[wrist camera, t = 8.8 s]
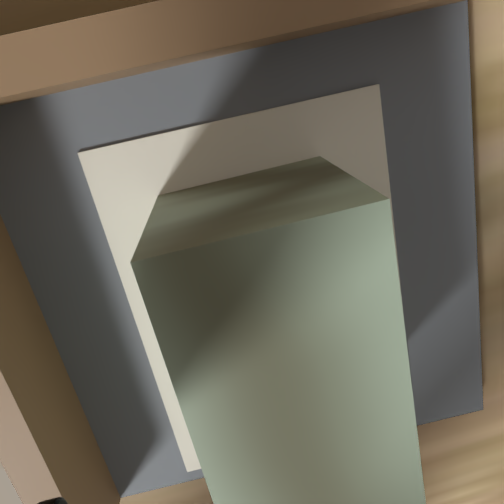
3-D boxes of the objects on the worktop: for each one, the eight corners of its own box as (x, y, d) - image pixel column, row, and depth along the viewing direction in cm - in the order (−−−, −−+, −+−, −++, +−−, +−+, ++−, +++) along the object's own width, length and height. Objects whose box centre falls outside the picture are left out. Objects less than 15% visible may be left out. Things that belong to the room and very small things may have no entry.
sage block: (319, 155, 12) (389, 198, 8) (360, 393, 15) (428, 529, 11) (157, 195, 12) (129, 262, 8) (228, 426, 15) (239, 578, 11)
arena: (474, 398, 17) (539, 474, 13) (95, 490, 16) (69, 590, 13) (453, -40, 12) (549, -87, 9) (-87, 81, 12) (-202, 80, 8)
